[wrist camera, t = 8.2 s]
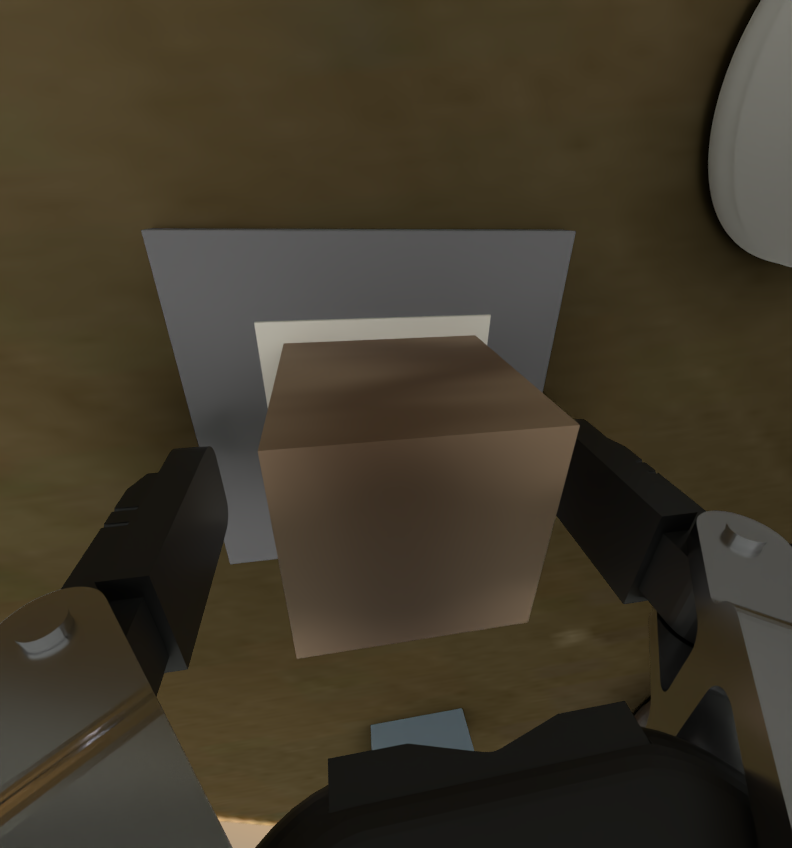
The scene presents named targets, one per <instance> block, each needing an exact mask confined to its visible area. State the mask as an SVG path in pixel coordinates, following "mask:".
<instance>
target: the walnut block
mask: <svg viewBox="0 0 792 848" xmlns="http://www.w3.org/2000/svg"><path fill="white" fill-rule="evenodd" d="M579 427H580V425H579V424H578V423H577V422H576V421H575V420H574V419H572V418H571V417H570V416H569V415H568V414H567V413H565V412H564V411H563V410H562V409H561V408H560V407H558V406H557V405H556V404H555V403H554V402H553V401H551V400H550V399H549V398H548V397H547V396H546V395H544V394H543V393H542V392H541V391H540V390H539V389H537V388H536V387H535V386H534V385H533V384H532V383H530V382H529V381H528V380H527V379H526V378H525V377H523V376H522V375H521V374H520V373H519V372H518V371H516V370H515V369H514V368H513V367H512V366H511V365H509V364H508V363H507V362H506V361H505V360H504V359H502V358H501V357H500V356H499V355H498V354H497V353H495V352H494V351H493V350H492V349H491V348H490V347H488V346H487V345H486V344H485V343H484V342H483V341H481V340H480V339H479V338H478V337H477V336H476V335H470V336H446V337H423V338H400V339H376V340H353V341H330V342H306V343H284V344H283V348H282V353H281V357H280V361H279V365H278V369H277V373H276V377H275V381H274V386H273V390H272V394H271V398H270V402H269V406H268V410H267V415H266V419H265V423H264V427H263V431H262V435H261V439H260V444H259V448H258V456H259V461H260V466H261V472H262V477H263V482H264V487H265V493H266V498H267V503H268V509H269V514H270V519H271V524H272V530H273V535H274V540H275V546H276V551H277V556H278V561H279V567H280V572H281V577H282V583H283V588H284V593H285V598H286V604H287V609H288V614H289V620H290V625H291V630H292V635H293V641H294V646H295V651H296V657H297V659H299V658H305V657H311V656H318V655H324V654H330V653H337V652H343V651H349V650H356V649H362V648H368V647H375V646H381V645H387V644H394V643H400V642H406V641H413V640H419V639H425V638H432V637H438V636H444V635H451V634H457V633H463V632H470V631H476V630H482V629H489V628H495V627H501V626H507V625H514V624H520V623H526V622H528V620H529V616H530V613H531V609H532V605H533V601H534V597H535V594H536V590H537V586H538V582H539V578H540V575H541V571H542V567H543V563H544V560H545V556H546V552H547V548H548V544H549V541H550V537H551V533H552V529H553V525H554V522H555V518H556V514H557V510H558V506H559V503H560V499H561V495H562V491H563V488H564V484H565V480H566V476H567V472H568V469H569V465H570V461H571V457H572V453H573V450H574V446H575V442H576V438H577V434H578V431H579Z"/></svg>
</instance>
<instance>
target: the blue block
mask: <svg viewBox="0 0 792 848" xmlns="http://www.w3.org/2000/svg"><path fill="white" fill-rule="evenodd" d="M407 743H409V744H417V745H426V746H434V747H443V748H452V749H460V750H469V751H474V748H473V745H472V741H471V738H470V734H469V731H468V727H467V724H466V720H465V717H464V713H463V710H462V708H460V709H455V710H450V711H444V712H439V713H434V714H428V715H423V716H417V717H412V718H407V719H401V720H396V721H390V722H385V723H380V724H374V725H371V747H372V750H376V749H381V748H386V747H391V746H397V745H402V744H407Z"/></svg>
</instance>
